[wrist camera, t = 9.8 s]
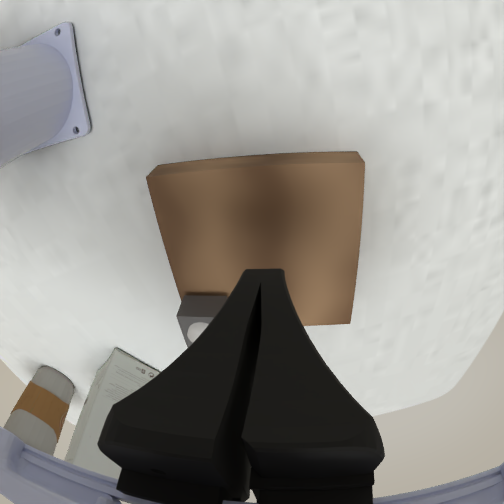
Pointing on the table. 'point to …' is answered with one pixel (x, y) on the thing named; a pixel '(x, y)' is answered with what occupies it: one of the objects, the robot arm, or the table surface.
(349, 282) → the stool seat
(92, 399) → the skincare box
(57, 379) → the coffee cup
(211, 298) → the gray rectangular bar
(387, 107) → the table surface
